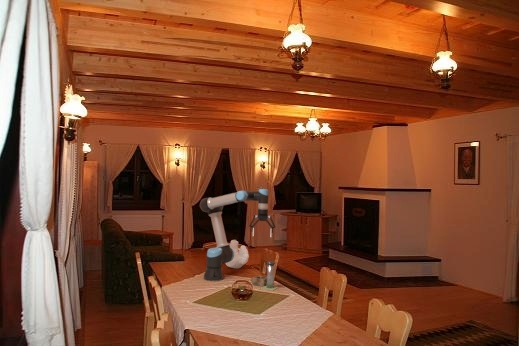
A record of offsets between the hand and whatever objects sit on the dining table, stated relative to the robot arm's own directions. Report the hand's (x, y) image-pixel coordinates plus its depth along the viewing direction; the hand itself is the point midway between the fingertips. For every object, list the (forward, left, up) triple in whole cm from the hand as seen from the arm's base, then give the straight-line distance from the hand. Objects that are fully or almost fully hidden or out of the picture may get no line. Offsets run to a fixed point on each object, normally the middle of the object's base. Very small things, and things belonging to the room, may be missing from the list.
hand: (261, 236), depth 313 cm
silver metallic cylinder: (+15, -13, -34) cm, 39 cm away
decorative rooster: (-43, +36, -35) cm, 66 cm away
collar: (+4, -6, -35) cm, 35 cm away
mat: (+15, -13, -35) cm, 40 cm away
